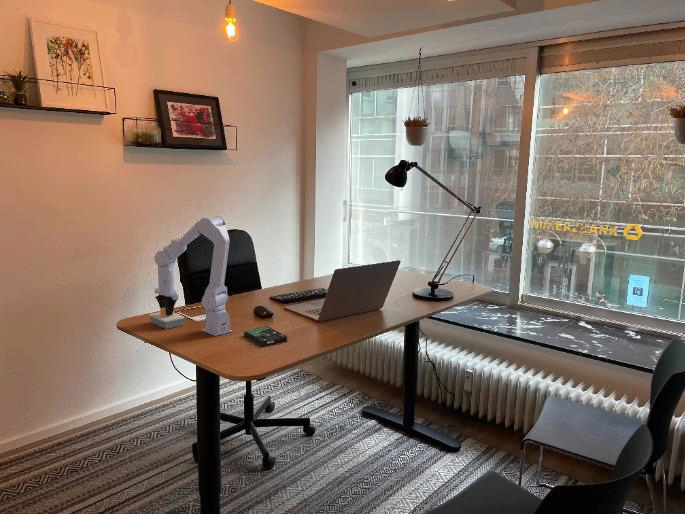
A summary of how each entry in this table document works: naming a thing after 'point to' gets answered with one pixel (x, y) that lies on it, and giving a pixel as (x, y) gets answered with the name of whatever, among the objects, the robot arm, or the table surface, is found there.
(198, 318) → the photo frame
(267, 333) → the disk drive
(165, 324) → the tub
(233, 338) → the table surface
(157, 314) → the lid
